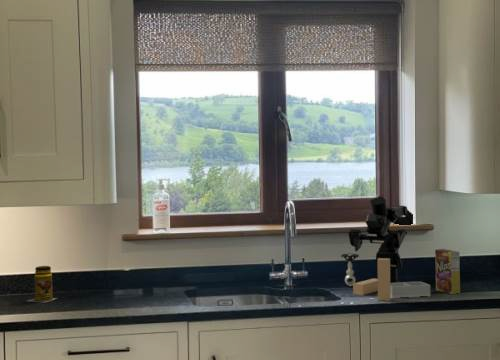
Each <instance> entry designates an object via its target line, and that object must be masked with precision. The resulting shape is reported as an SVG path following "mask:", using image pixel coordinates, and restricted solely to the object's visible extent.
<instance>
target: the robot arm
mask: <svg viewBox="0 0 500 360" xmlns="http://www.w3.org/2000/svg"><path fill="white" fill-rule="evenodd" d="M369 203H370V208H371V213H372V214H367V216H366V219H365V225H366V226H367V227H366V233H363V232H362V230H361V229H350V230H349V231H348V233H347V235H348V239H349V243H350V246H351V247H354V251H355V252H358V251H359V250H360V249H361V248H362V245H363V241H369V242H370V244H380V245H379V247H378V250H377V252H376V254H375V261H376V262H375V263H376V267H377V269H378V263H377V260H378V258H387V259H390V283H400V282H401V281H400V280H399V281H398V278H399V277H398V274H399V272H398V270H399V269H402V268H403V264H402V263H403V261H402V259H401V255H400V253H399V250H400V248H401V245H402V243H403V242H404V239H405V237H406V236H407V235H408V234H407V232H406V231H405V230H404V229H403V230H398V231H394V230H391V229H390V227H391V223H392V224H393V223H394V224H399V225H411V224H413V215H414V214H413V213H412V212H411V211H409V210H408V206H406V205H395V206H393V207H387V200H386V198H384V196H377V197H375V198H373V199H370V202H369ZM394 224H393V225H394Z"/></svg>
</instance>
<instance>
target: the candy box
mask: <svg viewBox="0 0 500 360" xmlns="http://www.w3.org/2000/svg"><path fill="white" fill-rule="evenodd" d="M434 255H435V257H434V258H435V259H434V260H435V261H434V262H435V291H438V292H441V293H444V294H448V293H449V294H450V295H451V294H453V295H457V294H456V293H460V294H461V276H460V275H461V273H460V272H461V269H460V268H461V267H460V265H461V263H460V262H461V261H460V260H461V258H460V251H455V250H451V249H446V248H438V249H435V250H434Z"/></svg>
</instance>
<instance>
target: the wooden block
mask: <svg viewBox="0 0 500 360" xmlns="http://www.w3.org/2000/svg"><path fill="white" fill-rule="evenodd" d="M377 263H378V268H377V279H378V291H377V301H378V300H385V301H384V302H390V301H391V297H390V259H387V258H378V260H377V262H376V264H377Z"/></svg>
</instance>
